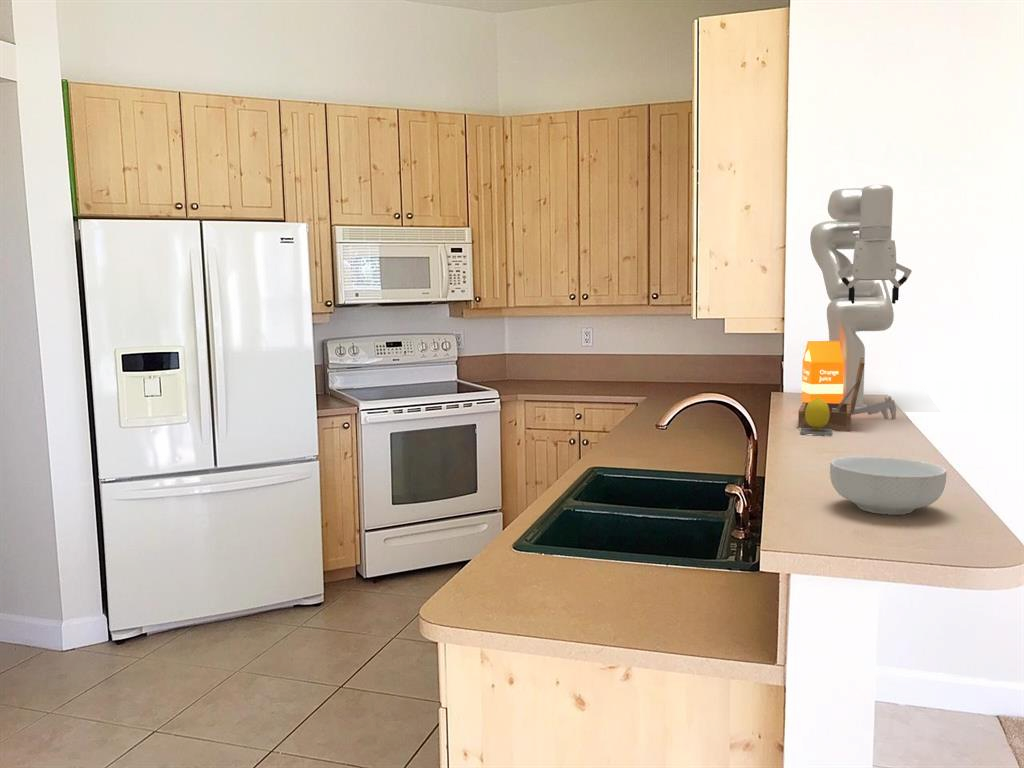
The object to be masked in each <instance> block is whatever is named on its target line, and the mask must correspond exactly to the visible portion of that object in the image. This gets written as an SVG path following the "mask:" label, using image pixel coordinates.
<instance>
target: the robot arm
mask: <svg viewBox="0 0 1024 768" xmlns="http://www.w3.org/2000/svg"><path fill="white" fill-rule="evenodd" d="M893 197H894V190H893V188H892V186H891V185H888V184H887V185H886V184H871V185H867V186H866V185H865V186H864V187H862V188H861V187H859V188H858V187H857V188H854V187H853V188H852V187H851V188H839V189H835V190H833V191H832V192H831V194H830V196H829V198H828V202H827V203H828V204H827V212H828V216H829V217H830V218H831V219H832V220H829V221H822V222H819V223H817V224H815V225H814V226H813V227H812V229H811V232H810V234H809V235H810V237H809V238H810V239H809V240H810V248H811V254H812V255H813V258H814V260H815V262H816V264H817V266H818V267H819V268H820V269H819V270H821V273H822V277H823V281H824V282H823V283H824V285H825V290H826V295H827V297H828V299H829V300H830V302H829V303H828V305H827V307H826V321H827V327H828V328H827V329H828V341H839V343H840V348H841V353H842V358H843V362H844V368H843V398H844V397H845V395H846V394H847V392H848V391H849V389H850V388H851V386H852V385H853V383H854V382H855V381H856V376H857V372H858V367H859V363H860V358H864V362H865V361H866V349H865V348H866V347H865V345H864V343H863V341H862V340H861V338H860V337H859V335H857V332H858V333H859V332H881V331H883V332H885V331H887V330H888V329H890V328H891V327H892V325H893V323H894V320H895V319H894V317H895V315H894V308H893V305H896V301H899V297H900V296H899V294H900V293H899V292H900V287H901V286H903V284H904V283H905V282H907V280H908V279H909V277H910V275H911V274H912V269H910V268H908V267H906V266H904V265H902V264H899V263H897V247H896V242H895V240H893V239H892V231H893V229H892V228H893V203H894V202H893V201H894V200H893V199H894V198H893ZM839 250H853V259H852V262H851V260H850V259H849V258H848V256H846V255H845V254H844V253H842V252H840V251H839ZM897 270H899V271H900V272H903V275H902V277H901V278H899V280H897V279H896V276H897ZM886 281H890V282H891V284H892V288H891V289H892V290H891V291H892V292H891V296H890V293H889V292H890V291H889V290H888V286H887V283H886ZM864 385H865V368H864V369H863V373H862V378H861V382H860V387H859V391H858V396H857V400H856V405H855V408H860V407H865V406H866V405H868V404H867V403H864V395H865V394H864V393H865V392H864V390H865V389H864V387H865V386H864ZM853 390H854V389H853ZM853 390H852V392H851V393H850V395H849V396H848V398H847V399H846V400H845V402H844V404H850V402H851V399H852V394H853Z"/></svg>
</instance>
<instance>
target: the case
mask: <svg viewBox="0 0 1024 768" xmlns="http://www.w3.org/2000/svg"><path fill="white" fill-rule="evenodd" d="M865 364H866V363H865V362H864V358H860V363H859V367H858V372H857V376H856V381H855V382H854V383H853V385H852V386H851V388H850V389H849V391H848V392H847V394H846V395H845V397H844V398H843V399H842V401H841V402H840V403H827V404H828V407H829V411H830V417H829V421H828V423H827V424H826V425H825V426H824V427H821V428H820V429H832V430H835V431H834V432H851V429H852V424H851V423H852V415H851V413H853V412H854V409H855V405H856V400H857V396H858V391H859V387H860V382H861V378H862V373H863V369H864V370H865ZM853 389H854V390H853ZM852 390H853V394H852V399H851V402H850V404H844V402H845V400H846V399H847V398H848V396H849V395H850V393H851V392H852ZM808 403H809V402H802V401H801V404H800V407H799V409H798V422H797V423H798V424H797V425H798V426H797V429H798V428H813V427H811V426H810V425H809V424H808V423H807V421H806V418H805V410H806V407H807V404H808Z"/></svg>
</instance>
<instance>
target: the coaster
mask: <svg viewBox="0 0 1024 768" xmlns="http://www.w3.org/2000/svg"><path fill="white" fill-rule="evenodd" d="M800 434H815V435H814V436H819V435H829V436H828V437H832V436H833V435H832V434H833V431H832V429H819V430H815V429H814V428H801V429H800V432H799V435H800Z"/></svg>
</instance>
